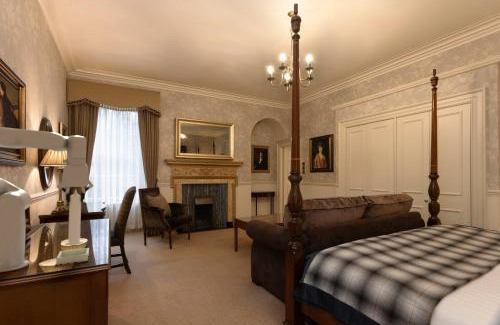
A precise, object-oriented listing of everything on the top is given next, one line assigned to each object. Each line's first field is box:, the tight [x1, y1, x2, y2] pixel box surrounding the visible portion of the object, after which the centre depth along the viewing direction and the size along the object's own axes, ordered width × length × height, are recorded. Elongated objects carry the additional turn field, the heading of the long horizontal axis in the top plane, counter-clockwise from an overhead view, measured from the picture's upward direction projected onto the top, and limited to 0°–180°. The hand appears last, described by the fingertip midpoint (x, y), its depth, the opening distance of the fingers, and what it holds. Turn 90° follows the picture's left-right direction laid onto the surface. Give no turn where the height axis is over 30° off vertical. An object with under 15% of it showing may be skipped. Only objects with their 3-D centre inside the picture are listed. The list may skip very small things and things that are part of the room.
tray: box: [55, 247, 90, 266], centre depth 123 cm, size 12×12×3 cm
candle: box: [64, 188, 84, 246], centre depth 123 cm, size 7×7×25 cm
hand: (75, 201), depth 124 cm, fingers closed on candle, 4 cm apart
